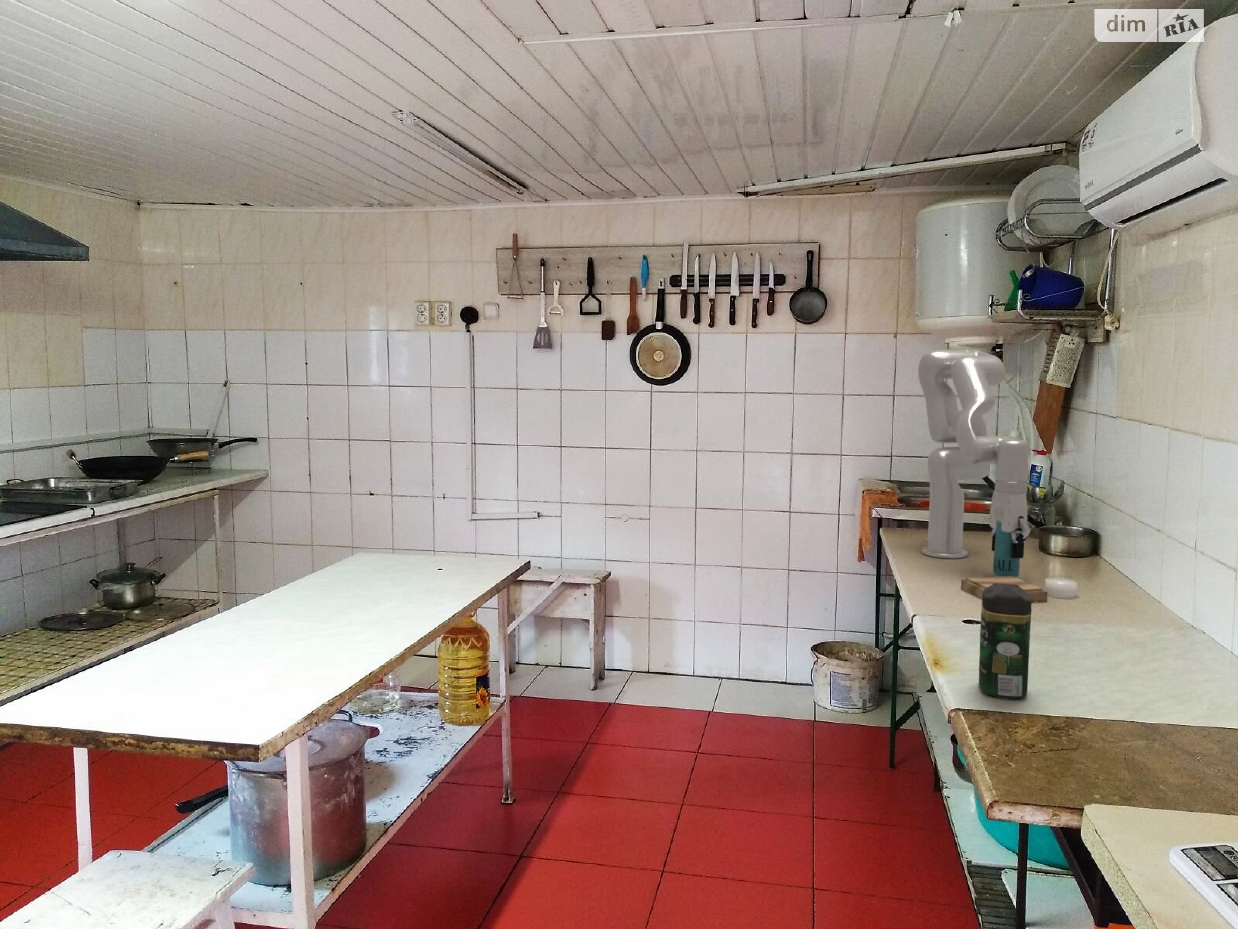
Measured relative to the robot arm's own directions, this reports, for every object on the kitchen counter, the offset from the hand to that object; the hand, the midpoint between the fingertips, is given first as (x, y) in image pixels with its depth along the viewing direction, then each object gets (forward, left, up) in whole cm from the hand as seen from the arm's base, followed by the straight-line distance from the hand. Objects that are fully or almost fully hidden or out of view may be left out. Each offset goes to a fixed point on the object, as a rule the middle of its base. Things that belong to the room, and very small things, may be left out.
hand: (1007, 554), depth 229 cm
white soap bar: (+15, +5, -7) cm, 17 cm away
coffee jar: (+70, -45, -7) cm, 84 cm away
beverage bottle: (0, 0, -7) cm, 7 cm away
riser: (+13, -9, -7) cm, 17 cm away
